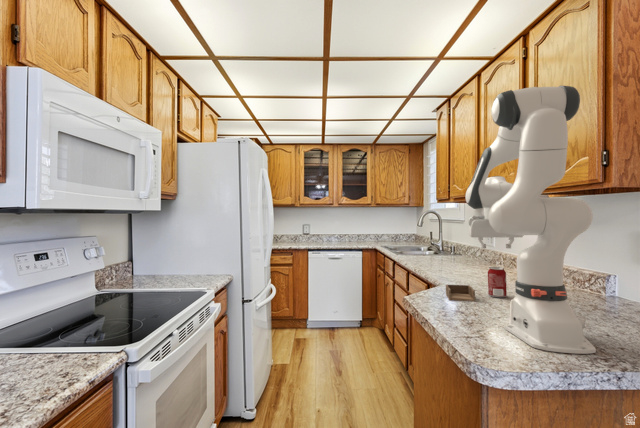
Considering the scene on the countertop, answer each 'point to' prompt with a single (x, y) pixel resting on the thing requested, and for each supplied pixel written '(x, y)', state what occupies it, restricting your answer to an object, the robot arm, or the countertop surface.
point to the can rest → (460, 292)
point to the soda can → (497, 282)
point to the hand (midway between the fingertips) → (496, 248)
